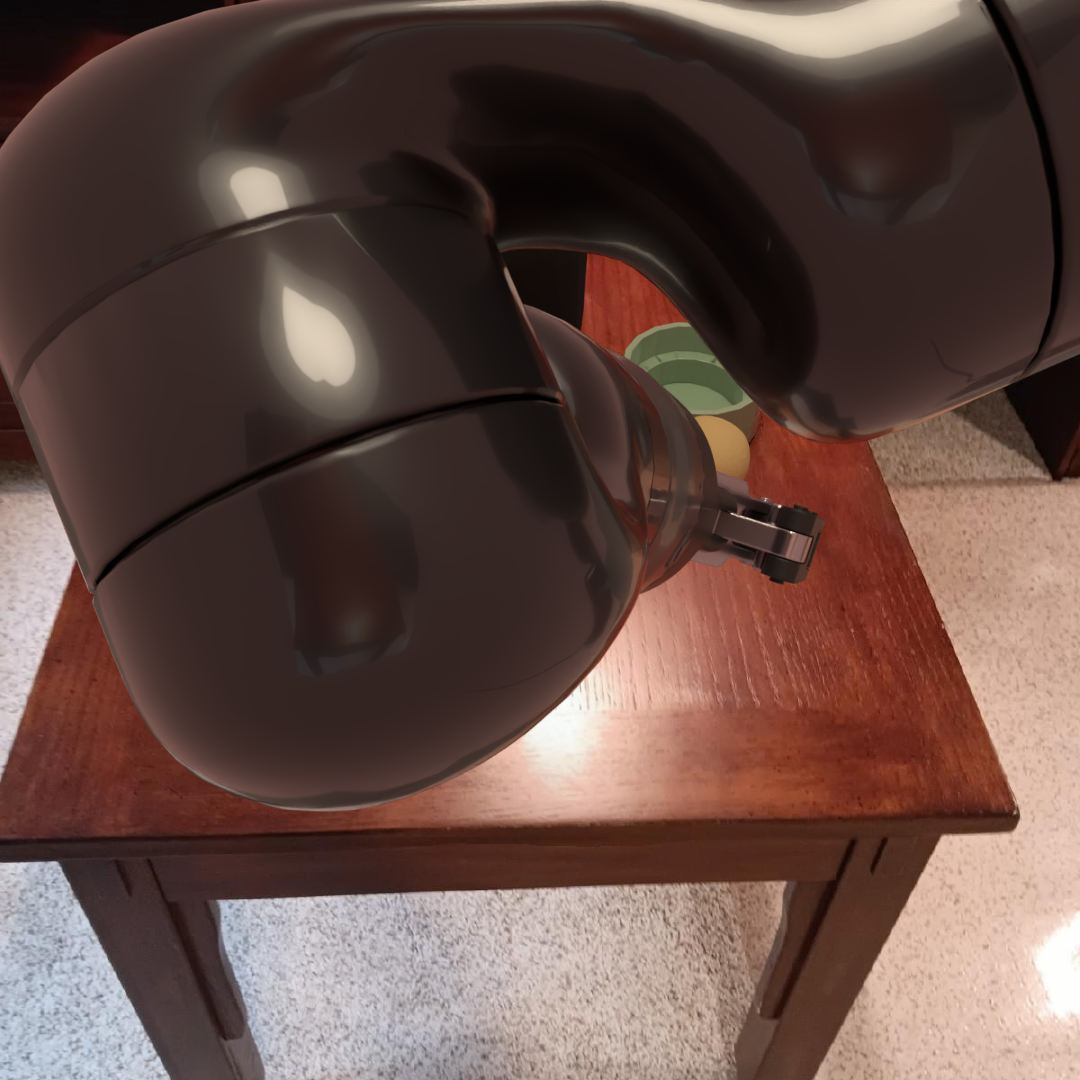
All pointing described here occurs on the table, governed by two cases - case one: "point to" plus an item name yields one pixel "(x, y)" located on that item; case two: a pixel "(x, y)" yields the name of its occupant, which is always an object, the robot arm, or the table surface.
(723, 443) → the light bulb
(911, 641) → the table surface
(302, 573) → the robot arm
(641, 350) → the green stepped bowl
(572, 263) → the portable speaker
